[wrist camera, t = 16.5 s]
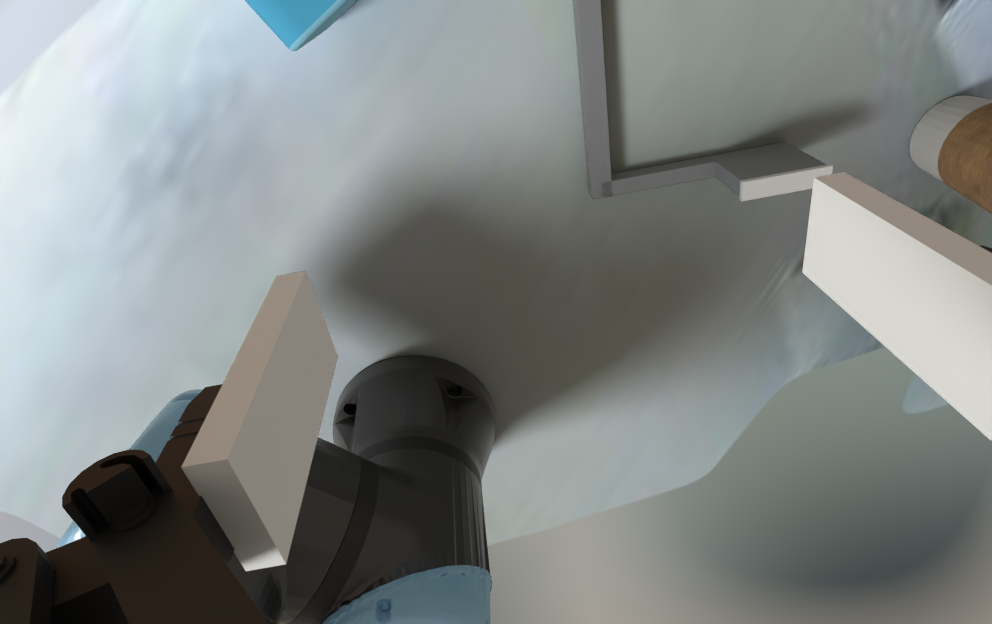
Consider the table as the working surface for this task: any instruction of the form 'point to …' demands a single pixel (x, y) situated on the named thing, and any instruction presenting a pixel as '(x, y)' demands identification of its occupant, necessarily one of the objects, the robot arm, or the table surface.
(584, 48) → the grey u-shaped frame
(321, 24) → the data package
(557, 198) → the table surface
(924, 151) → the coffee cup
